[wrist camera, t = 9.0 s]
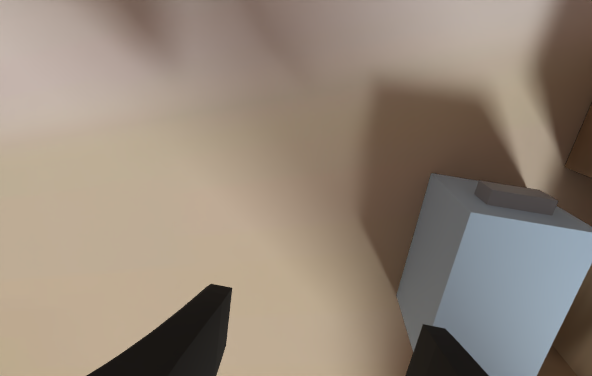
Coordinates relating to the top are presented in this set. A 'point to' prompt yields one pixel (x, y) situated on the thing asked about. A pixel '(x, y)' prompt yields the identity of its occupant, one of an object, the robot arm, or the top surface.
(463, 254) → the cabinet block
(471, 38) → the top surface
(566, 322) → the beige wooden bar
